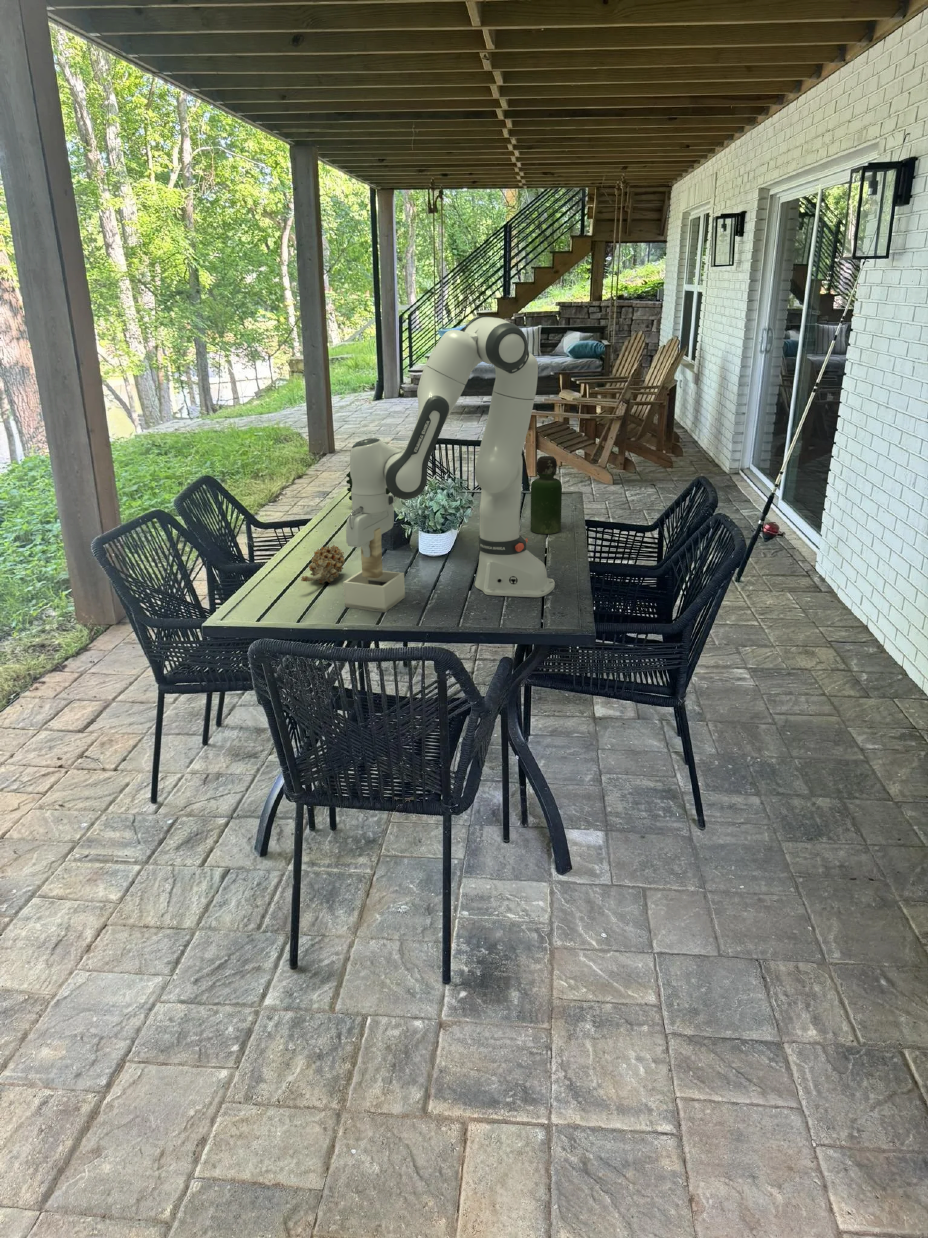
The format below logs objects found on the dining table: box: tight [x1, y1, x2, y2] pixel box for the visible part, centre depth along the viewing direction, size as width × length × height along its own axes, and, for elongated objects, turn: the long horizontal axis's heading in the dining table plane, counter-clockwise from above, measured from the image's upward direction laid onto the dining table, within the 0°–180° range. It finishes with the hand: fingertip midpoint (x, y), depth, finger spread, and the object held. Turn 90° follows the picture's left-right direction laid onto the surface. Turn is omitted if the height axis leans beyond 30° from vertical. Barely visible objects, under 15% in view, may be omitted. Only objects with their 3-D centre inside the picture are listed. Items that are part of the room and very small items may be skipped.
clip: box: [368, 580, 387, 586], centre depth 231 cm, size 6×6×4 cm
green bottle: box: [530, 455, 563, 535], centre depth 289 cm, size 10×10×25 cm
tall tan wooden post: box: [360, 528, 384, 579], centre depth 227 cm, size 4×3×13 cm, turn 68°
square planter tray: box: [342, 570, 406, 613], centre depth 231 cm, size 12×12×7 cm
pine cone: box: [300, 544, 346, 585], centre depth 245 cm, size 22×10×10 cm, turn 167°
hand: (371, 554), depth 227 cm, fingers closed on tall tan wooden post, 3 cm apart
